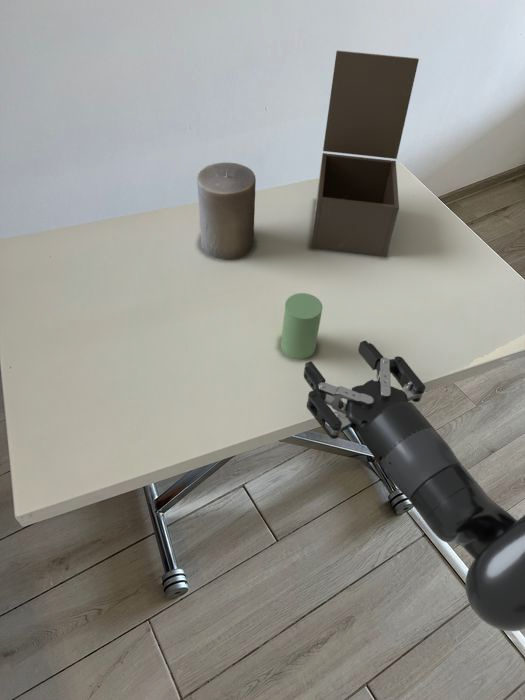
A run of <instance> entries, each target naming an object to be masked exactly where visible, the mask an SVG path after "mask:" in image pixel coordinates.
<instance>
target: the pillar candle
mask: <svg viewBox="0 0 525 700" xmlns="http://www.w3.org/2000/svg"><path fill="white" fill-rule="evenodd" d="M196 181H197V182H196V183H197V196H198V197H197V198H198V213H199V214H198V215H199V234H200V246H201V248H202V250H203V251H204V252H205V253H206V254H208V255H209V256H210V257H213V258H216V259H220V260H223V261H224V260H227V261H229V260H237V259H240V258H243V257H244V256H246V255H247V254H249V253H250V252H251V250H252V248H253V247H254V235H255V212H256V209H255V208H256V182H257V180H256V174H255V173H254V171H253V170H252V169H251V168H249V167H248V166H245V165H243V164H240V163H236V162H217V163H215V162H214V163H211V164H207V165H206V166H204V167H203V168H202V169H201V170H199V172H198V173H197V178H196Z"/></svg>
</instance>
